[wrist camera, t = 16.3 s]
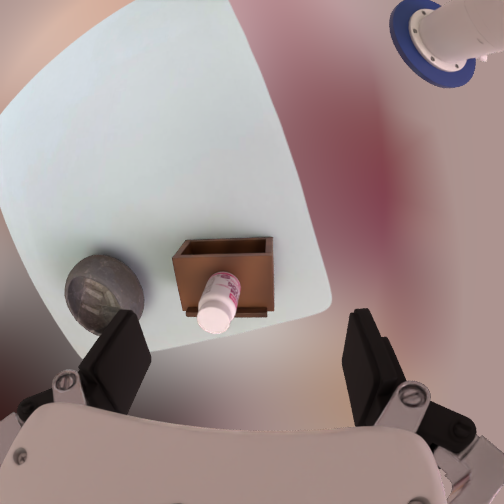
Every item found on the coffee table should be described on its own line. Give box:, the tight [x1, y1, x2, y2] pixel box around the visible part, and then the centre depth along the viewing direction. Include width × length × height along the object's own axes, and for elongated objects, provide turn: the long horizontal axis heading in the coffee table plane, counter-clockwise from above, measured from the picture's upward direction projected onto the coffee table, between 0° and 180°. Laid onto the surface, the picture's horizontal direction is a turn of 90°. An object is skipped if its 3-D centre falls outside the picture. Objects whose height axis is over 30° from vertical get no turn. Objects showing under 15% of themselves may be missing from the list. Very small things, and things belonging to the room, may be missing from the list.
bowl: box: [65, 255, 144, 336], centre depth 45 cm, size 15×15×10 cm
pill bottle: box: [197, 272, 241, 334], centre depth 36 cm, size 5×5×8 cm
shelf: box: [172, 237, 274, 317], centre depth 42 cm, size 14×9×8 cm, turn 93°
